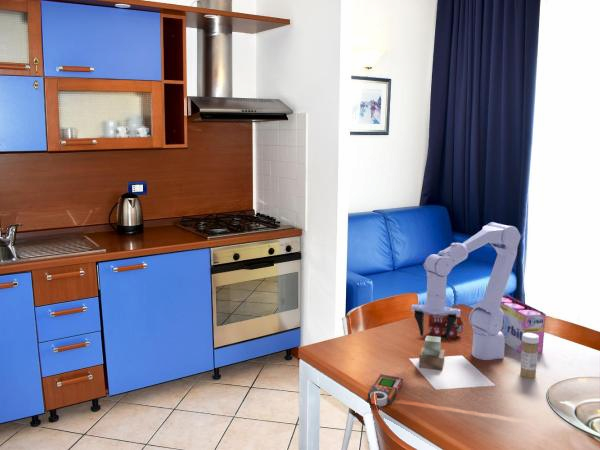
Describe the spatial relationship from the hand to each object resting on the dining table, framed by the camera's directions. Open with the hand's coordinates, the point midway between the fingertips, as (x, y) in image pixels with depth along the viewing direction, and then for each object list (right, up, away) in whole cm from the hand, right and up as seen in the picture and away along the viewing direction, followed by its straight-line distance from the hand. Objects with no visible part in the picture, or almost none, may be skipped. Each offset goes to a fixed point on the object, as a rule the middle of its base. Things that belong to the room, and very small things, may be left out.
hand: (434, 336), depth 172 cm
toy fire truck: (+11, -6, +30) cm, 32 cm away
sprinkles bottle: (+27, -12, -5) cm, 29 cm away
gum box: (+34, -7, +24) cm, 42 cm away
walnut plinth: (0, -9, +2) cm, 9 cm away
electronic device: (-18, -14, -16) cm, 28 cm away
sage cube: (0, -5, +1) cm, 5 cm away
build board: (+4, -11, -3) cm, 12 cm away
